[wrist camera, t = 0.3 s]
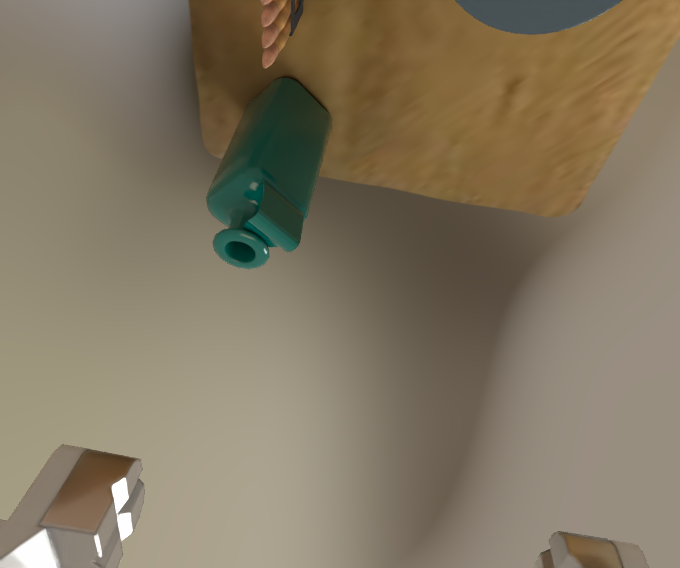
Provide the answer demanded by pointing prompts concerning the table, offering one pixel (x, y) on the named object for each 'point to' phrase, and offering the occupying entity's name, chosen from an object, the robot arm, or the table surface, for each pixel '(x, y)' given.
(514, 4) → the lid
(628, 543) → the robot arm
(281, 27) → the ammunition clip
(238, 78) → the table surface
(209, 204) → the green bottle
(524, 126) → the table surface
